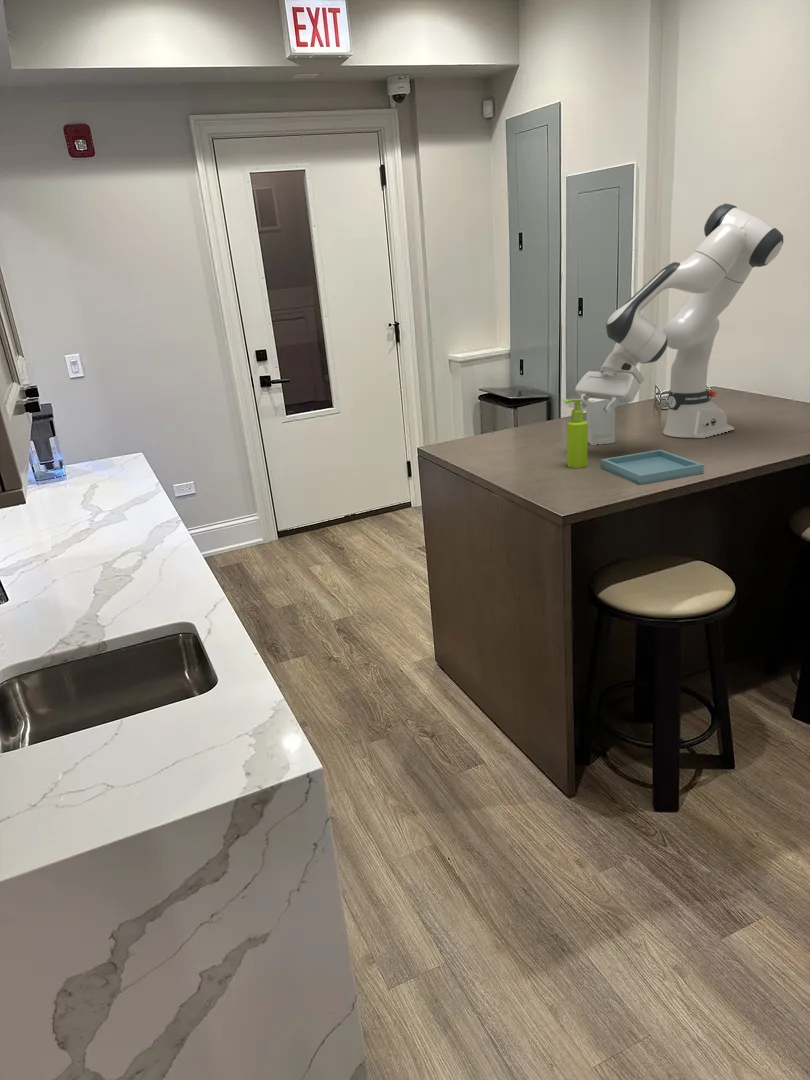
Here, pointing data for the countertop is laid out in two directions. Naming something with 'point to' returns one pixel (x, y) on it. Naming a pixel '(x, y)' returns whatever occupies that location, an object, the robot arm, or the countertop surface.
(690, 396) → the robot arm
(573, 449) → the soap dispenser
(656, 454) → the tray
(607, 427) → the skincare box
